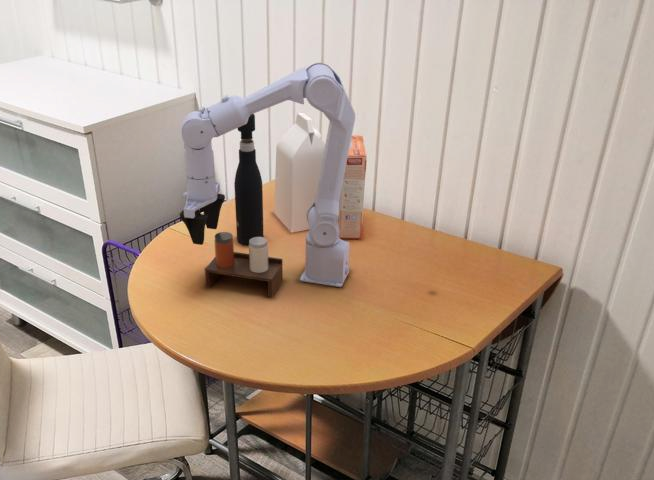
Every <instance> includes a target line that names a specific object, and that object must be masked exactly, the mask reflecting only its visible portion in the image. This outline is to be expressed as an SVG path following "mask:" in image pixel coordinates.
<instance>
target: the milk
mask: <svg viewBox="0 0 654 480" xmlns="http://www.w3.org/2000/svg"><path fill="white" fill-rule="evenodd" d="M322 137H323V134H322V133H321V132H320V131H319V130H317V129H316V128H315V127H314V123H313V119H312V118H311V117H309V116H308V115H306V113H304V112H297V113H296V117H295V123H294V124H293V125H292V126H291V127H290V128H289V129H288V130H287V131H286V132H285V133H284V134H283V135H282V136H281V137H280V139H278V141H277V144H276V149H275V153H276V154H275V172H274V173H275V175H274V198H273V199H274V204H273V215H274V216H275V217H276V218H277V219H278V220H279V221H280V222H281V223H282V224H283V225H284V227H286V229H287V230H288V231H289V232H290V233H298V232H305V231H309V224H308V221H307V211H308V209H309V208H310V207H311V205H312V204H313V201H314V196H315V194H316V193H317V189H318V183H319V177H320V172H321V166H322V161H323V155H324V150H325V144H326V142H325V141H323V140H322Z"/></svg>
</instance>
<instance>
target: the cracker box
mask: <svg viewBox="0 0 654 480" xmlns="http://www.w3.org/2000/svg"><path fill="white" fill-rule="evenodd" d="M367 159H368V155H367V150H366V146H365V142H364V137H363V135H352V137H351V142H350V147H349V152H348V158H347V163H346V168H345V173H344V178H343V183H342V188H341V193H340V198H339V215H338V226H339V230H340V234H339V238H340V239H362V232H363V231H362V230H363V219H364V218H363V217H364V216H363V215H364V203H365V202H364V201H365V190H366V189H365V188H366V174H367V162H368V161H367Z"/></svg>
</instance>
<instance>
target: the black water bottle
mask: <svg viewBox="0 0 654 480" xmlns="http://www.w3.org/2000/svg"><path fill="white" fill-rule="evenodd" d="M237 131H238V132H239V133H240V141H239V149H238V165H237V168H236V170H235V176H234V183H233V185H234V205H235V206H234V207H235V226H236V242H237V243H238V244H239V245H241V246H245V247H249V240H250V239H251V238H253V237H264V236H265V235H264V234H265V233H264V198H263V197H264V195H263V180H262V174H261V171H260V169H259V166H258V163H257V152H256V151H257V150H256V148H255V141H254V140H253V139H254V137H253V132H255V131H256V115H255V113H254V114H251V115H250V116H249V119H248V122H247V124H245V125H243V126H241V127H239V128H237ZM264 238H265V237H264Z"/></svg>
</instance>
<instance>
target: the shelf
mask: <svg viewBox="0 0 654 480" xmlns="http://www.w3.org/2000/svg"><path fill="white" fill-rule="evenodd" d="M234 260H235V264H234V265H233V266H231V267H228V268H222V267H218V266H217V265H216V256H214V257H213V259H212V260H211V261H210V262H209V263H208V265H207V266H206V267H205V268H204V275H205V288H207V289H210V288H211V287H212V286H213V284H214V283H215V282H216V280H217V279H218V278H219V277H220V276H221V275H224V276H230V277H237V278H243V279H251V280H257V281H264V282H267V287H268V289H267V290H268V293H267V294H268V295H267V296H268V298H270V299H273V297H274V296H275V294H276V292H277V291H278V289H279V288H280V286H281V285H282V283H283V281H284V280H283V276H284V275H283V273H284V272H283V270H284V269H283V267H284V266H283V265H284V264H283V263H284V262H283V258H278V257H273V256H268V270H267V271H265V272H262V273H256V272H252V271H251V270H250V263H249V253H244V252H237V251H234Z"/></svg>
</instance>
